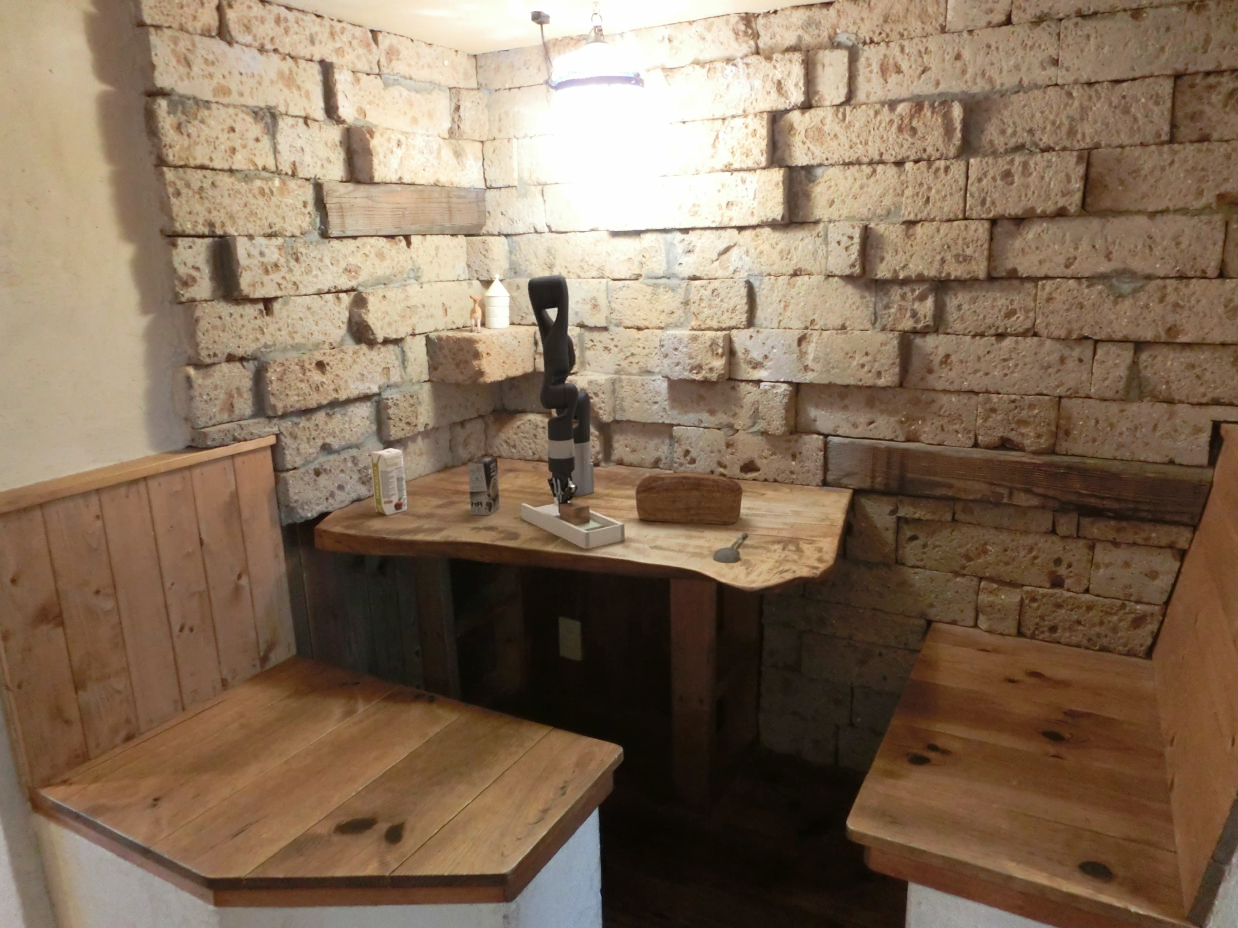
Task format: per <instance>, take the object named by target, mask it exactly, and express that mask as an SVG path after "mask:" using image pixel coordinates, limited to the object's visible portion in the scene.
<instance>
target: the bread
mask: <svg viewBox="0 0 1238 928" xmlns="http://www.w3.org/2000/svg"><path fill="white" fill-rule="evenodd" d="M742 497H743V487H742V485H741V484H740V483H739V482H738V481H736V480H734V479H733V478H729V477H726V476H722V475H717V474H712V473H703V472H694V471H693V472H692V471H682V472H681V471H680V472H679V471H678V472H665V473H655V474H654V473H652V474H650V475H648V476H645V477H643V478H642V479H641V480H640V481H639V483H638V485H637V486H636V489H635V503H636V511H637V516H638V518H639V519H640V520H643V521H649V522H679V523H706V524H716V525H717V524H718V525H729V524H734V523H736V522H737V521H738V520H739V519H740V517H741V510H742V509H741V508H742Z"/></svg>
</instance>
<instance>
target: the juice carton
mask: <svg viewBox="0 0 1238 928" xmlns="http://www.w3.org/2000/svg"><path fill="white" fill-rule="evenodd" d="M370 466H371V468H370V469H371V475H372V476H371V477H372V489H373V490H372V491H373V499H374V506H375V510H376V513H379V514H382V515H386V516H390V515H394V514H398V513H403V512H406V511H407V509H408V508H407V506H408V504H407V503H408V502H407V501H408V500H407V488H406V477H405V476H406V475H405V473H406V472H405V463H404V456H403V450H401V449H397V448H391V447H390V448H385V449H383V450H377V451H376V450H375V451H371V452H370Z"/></svg>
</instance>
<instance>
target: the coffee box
mask: <svg viewBox="0 0 1238 928" xmlns="http://www.w3.org/2000/svg"><path fill="white" fill-rule="evenodd" d="M467 466H468V468H467V469H468V485H469V502H470V503H469V504H470V515H478V516H491V515H492V514H493V513H495V512H496V511H497V510H498V509H499V508H500V507H501V505H500V487H499V486H500V485H499V484H500V483H499V470H498V469H499V467H498V456H477V457H476V458H474V459H472V460H471V461H469V462H468V463H467Z"/></svg>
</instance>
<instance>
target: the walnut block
mask: <svg viewBox="0 0 1238 928" xmlns="http://www.w3.org/2000/svg"><path fill="white" fill-rule="evenodd" d="M589 510H590V505H589V504H586V503H585V502H582V501H579V500H574V501H569V503H564V504H560V519H561V520H563V521H566V522H568V523H570V524H572V525H575V526H577V525H581V524H586V523H590V511H589Z"/></svg>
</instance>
